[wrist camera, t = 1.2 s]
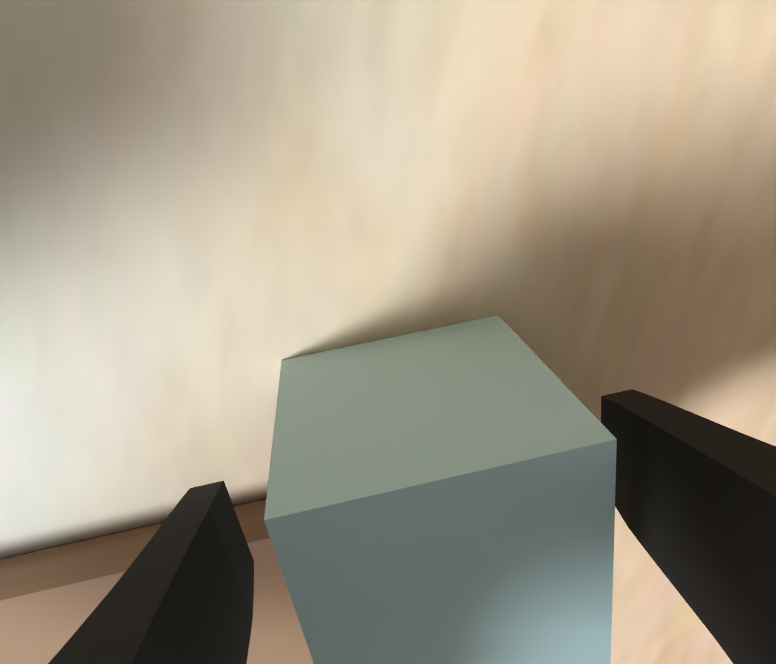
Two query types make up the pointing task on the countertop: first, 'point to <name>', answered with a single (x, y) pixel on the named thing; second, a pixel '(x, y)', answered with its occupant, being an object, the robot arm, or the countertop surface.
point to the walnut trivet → (104, 569)
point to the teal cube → (442, 503)
